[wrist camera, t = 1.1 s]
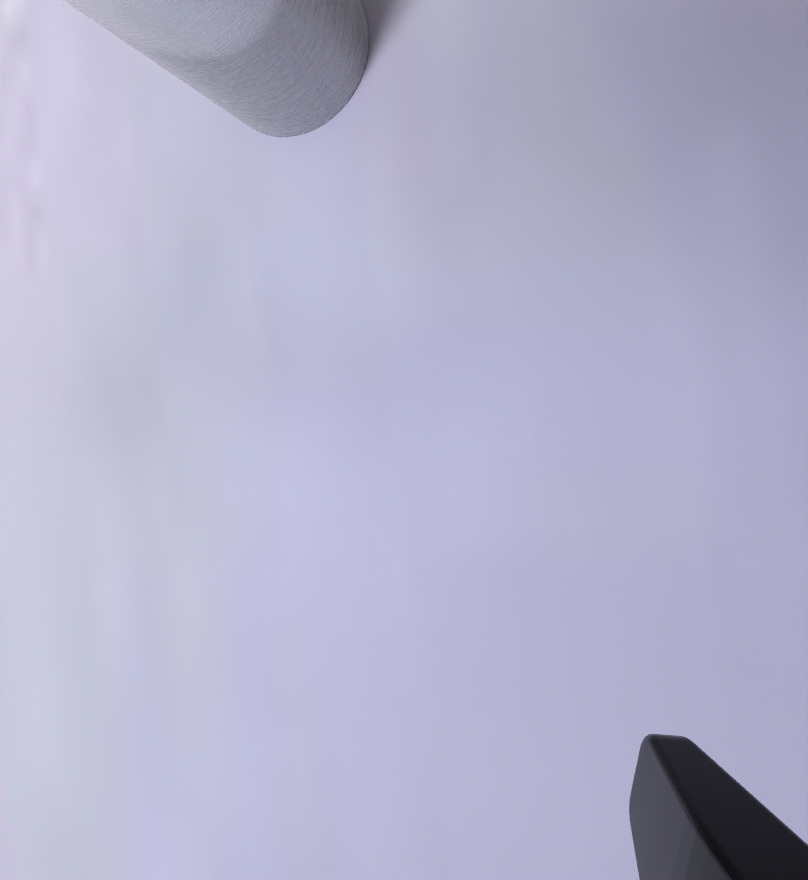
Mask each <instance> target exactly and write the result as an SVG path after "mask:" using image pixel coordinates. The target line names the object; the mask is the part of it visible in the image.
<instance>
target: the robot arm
mask: <svg viewBox="0 0 808 880" xmlns="http://www.w3.org/2000/svg"><path fill="white" fill-rule="evenodd" d="M629 814H630V824H631V830H632V836H633V842H634V848H635V854H636V860H637V866H638V872H639V878H640V880H808V845H807V844H806V843H805V842H804V841H803V840H802V839H801V838H800V837H798V836H797V835H796V834H795V833H794V832H793V831H792V830H791V829H789V828H788V827H787V826H786V825H785V824H784V823H783V822H782V821H781V820H779V819H778V818H777V817H776V816H775V815H774V814H773V813H772V812H770V811H769V810H768V809H767V808H766V807H765V806H764V805H763V804H762V803H760V802H759V801H758V800H757V799H756V798H755V797H754V796H753V795H752V794H750V793H749V792H748V791H747V790H746V789H745V788H744V787H743V786H741V785H740V784H739V783H738V782H737V781H736V780H735V779H734V778H733V777H731V776H730V775H729V774H728V773H727V772H726V771H725V770H724V769H722V768H721V767H720V766H719V765H718V764H717V763H716V762H715V761H714V760H712V759H711V758H710V757H709V756H708V755H707V754H706V753H705V752H704V751H702V750H701V749H700V748H699V747H698V746H697V745H696V744H695V743H693V742H692V741H691V740H689V739H688V738H686V737H682V736H673V735H660V734H649V735H648V736H646V737H645V738H644V740H643V742H642V743H641V747H640V751H639V756H638V761H637V766H636V771H635V775H634V780H633V785H632V790H631V795H630V804H629Z"/></svg>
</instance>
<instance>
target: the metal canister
mask: <svg viewBox="0 0 808 880" xmlns="http://www.w3.org/2000/svg"><path fill="white" fill-rule="evenodd" d="M64 1H65V2H67V3H68V4H70V5H71V6H73V7H74V8H76V9H77V10H79V11H80V12H82V13H83V14H85V15H86V16H87V17H89V18H90V19H92V20H93V21H95V22H96V23H98V24H99V25H101V26H102V27H104V28H105V29H107V30H108V31H110V32H111V33H112V34H114V35H115V36H117V37H118V38H120V39H121V40H123V41H124V42H126V43H127V44H129V45H130V46H132V47H133V48H135V49H136V50H138V51H139V52H140V53H142V54H143V55H145V56H146V57H148V58H149V59H151V60H152V61H154V62H155V63H157V64H158V65H160V66H161V67H163V68H164V69H165V70H167V71H168V72H170V73H171V74H173V75H174V76H176V77H177V78H179V79H180V80H182V81H183V82H185V83H186V84H188V85H189V86H191V87H192V88H193V89H195V90H196V91H198V92H199V93H201V94H202V95H204V96H205V97H207V98H208V99H210V100H211V101H213V102H214V103H216V104H217V105H218V106H220V107H221V108H223V109H224V110H226V111H227V112H229V113H230V114H232V115H233V116H235V117H236V118H238V119H239V120H241V121H242V122H243V123H245V124H246V125H248V126H249V127H251V128H253V129H255V130H256V131H258V132H261V133H264V134H266V135H271V136H276V137H290V136H297V135H301V134H305V133H308V132H310V131H313V130H315V129H317V128H318V127H320V126H322V125H324V124H325V123H326V122H328V121H329V120H331V119H332V118H333V117H334V116H335V115H336V114H337V113H338V112H339V111H340V110H341V109H342V108H343V107H344V106H345V105H346V103H347V102H348V101H349V99H350V98H351V96H352V95H353V93H354V92H355V90H356V88H357V86H358V84H359V82H360V80H361V77H362V74H363V72H364V69H365V65H366V61H367V56H368V48H369V31H368V23H367V18H366V14H365V11H364V8H363V6H362V3H361V1H360V0H64Z"/></svg>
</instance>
